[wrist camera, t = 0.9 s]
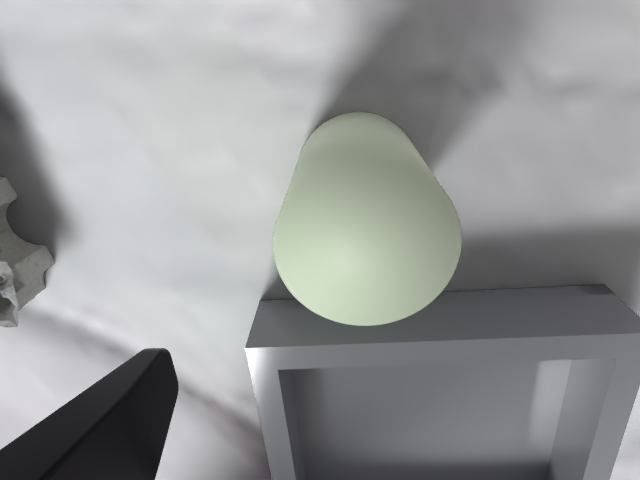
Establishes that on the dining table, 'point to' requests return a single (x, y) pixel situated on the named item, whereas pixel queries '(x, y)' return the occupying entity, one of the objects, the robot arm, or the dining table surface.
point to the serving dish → (449, 387)
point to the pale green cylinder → (365, 224)
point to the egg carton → (18, 264)
